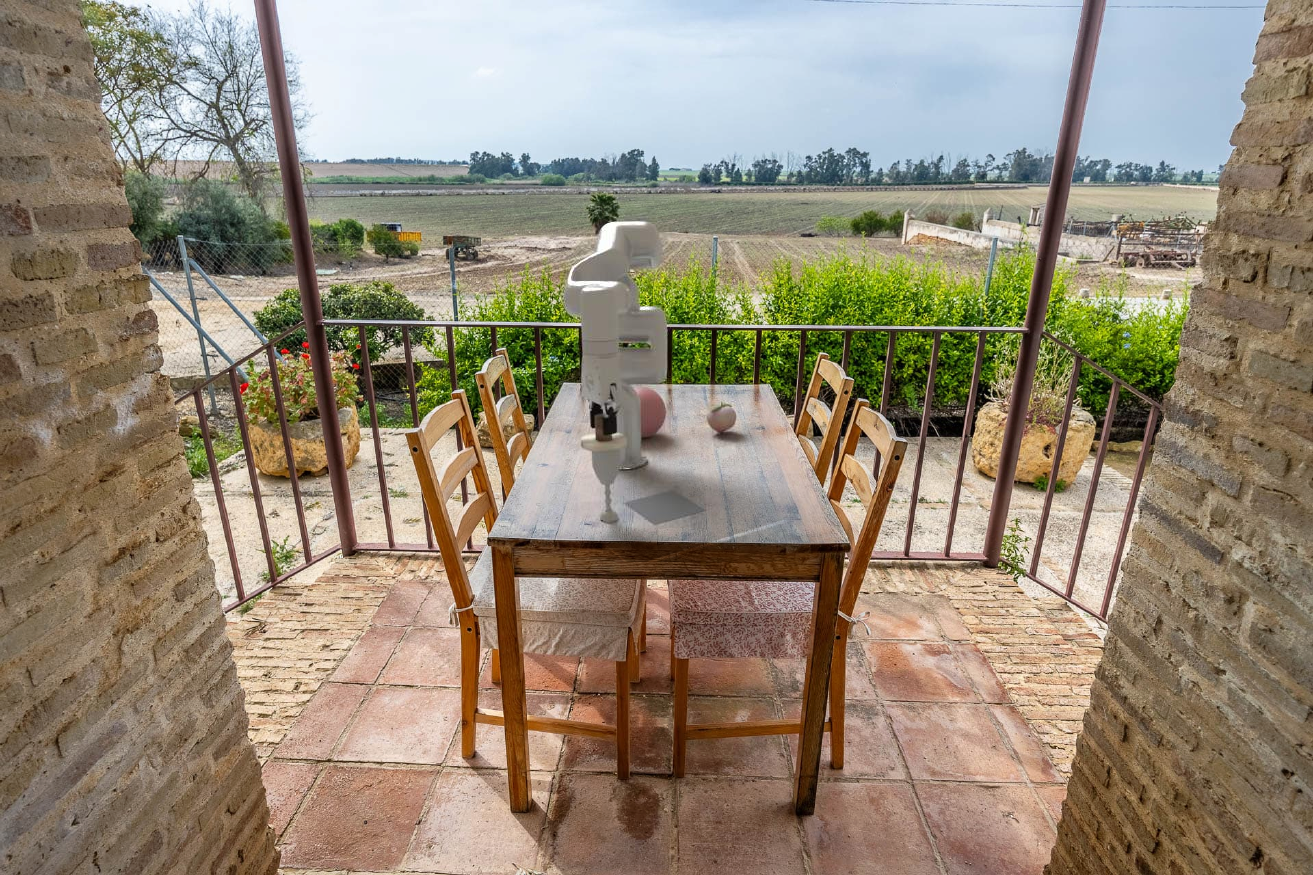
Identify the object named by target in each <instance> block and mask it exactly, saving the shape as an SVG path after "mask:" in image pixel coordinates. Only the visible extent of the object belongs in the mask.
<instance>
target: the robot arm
mask: <svg viewBox="0 0 1313 875" xmlns="http://www.w3.org/2000/svg"><path fill="white" fill-rule="evenodd" d="M597 235H598V236H597V240H596V241H595V243H594V251H593V253H592V254H591V255H590V256H588V257H586V258H584V259H583V260H581V261H579V262H578V263H577V264H575V265H574V266H573V267H572V268H571V270H570V271H569V272H568V275H567V280H566V282H565V286H564V289H563V306H564V309H565V312H566V313H568V315H570V316H572V317H575V318H580V323H581V327H580V328H581V344H582V345H581V347H582V358H581V375H580V376H581V377H580V378H581V382H580V383H581V384H580V385H581V395H582V396H583V397H584V398H586V399H587V401H588V409H589V419H590V420H589V422H590V423H589V424H590V428H591V429H595V415H597V414H604V417H602V429H603V435H605V436H606V435H611V434H616V433H620V434H623V435H625V436H626V437H627V446H626V447H624V448H622V449H620V453H621V466H620V468H633V469H636V468H635V467H638V466H641V467H643V466H645V465H646V464H647V463H646V462H648V456H647V454H645V453H644V452H642V438H641V403H640V398H639V395H638V394H637V392H636V391H635V390H634V387H633V386H632V385H659V384H661V383H663V382H665V380H666V377H667V373H668V322H667V317H666V313H665V311H664V310H663V309H662V308H661V307H659V306H654V305H653V306H652V305H651V306H650V305H648V306H647V305H646V306H645V305H642V306H641V305H640V302H639V301H640V300H639V298H640V296H639V295H640V294H639V293H640V289H639V287H638V284H637V282H636V281H635V280H634V279H633V278H632V276H631V275H630V274H629V273H628V272H629V271H630V270H654V269H657V268H658V267H659V266H660V265H661V263H662V261H663V245H662V241H661V237H660V233H659V231H658V229H657V227H656V225H654V224H653V223H652V222H648V221H641V220H640V221H612V222H608V223H606V224H604V225H603V226H602V227H601V228H600V230H599V232H598V234H597ZM619 343H620V344H621V343H622V344H624V343H625V344H627V343H628V344H640V343H641V344H648V345H649V346H650V347H628V346H627V347H626V346H623V347H619V346H620V344H619ZM645 463H646V464H645ZM642 465H643V466H642ZM638 468H639V467H638Z"/></svg>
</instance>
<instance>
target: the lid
mask: <svg viewBox="0 0 1313 875" xmlns="http://www.w3.org/2000/svg"><path fill="white" fill-rule="evenodd" d="M602 417H604V414H597V415H595V428H594V429H595V430H594V432H592V433H588V434H585V435H584V436H582V437H581V438H580V447H581V448H582V449H584V450H586V451H588V452H589V451H590V452H592V451H594V452H610V451H616V450H620V449H622V448H624V447H626V446H627V437H626V436H625V435H623V434H620V433H616V434H611V435H606V436H605V435H603V429H602Z"/></svg>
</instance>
